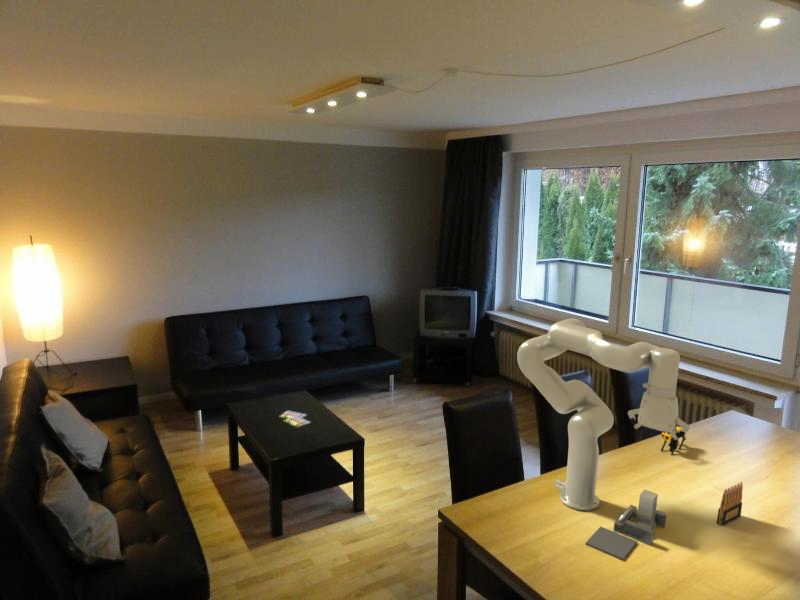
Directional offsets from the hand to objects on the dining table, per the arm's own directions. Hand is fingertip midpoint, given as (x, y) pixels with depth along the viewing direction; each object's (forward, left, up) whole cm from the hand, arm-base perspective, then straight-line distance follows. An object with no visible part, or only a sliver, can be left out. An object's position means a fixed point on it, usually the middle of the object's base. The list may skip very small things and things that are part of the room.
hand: (655, 445), depth 171 cm
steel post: (0, 0, -28) cm, 28 cm away
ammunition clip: (+18, +24, -28) cm, 41 cm away
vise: (-2, 0, -28) cm, 28 cm away
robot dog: (-11, +62, -28) cm, 69 cm away
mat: (-5, -14, -28) cm, 32 cm away
